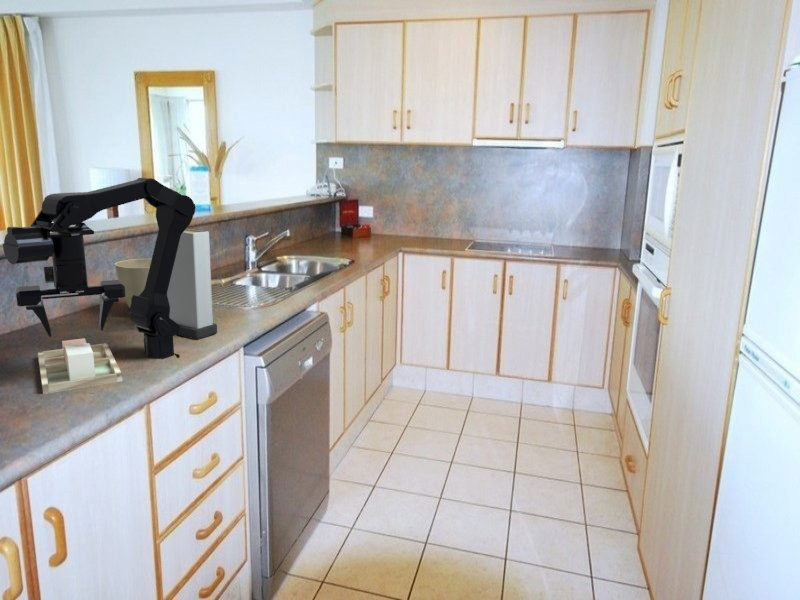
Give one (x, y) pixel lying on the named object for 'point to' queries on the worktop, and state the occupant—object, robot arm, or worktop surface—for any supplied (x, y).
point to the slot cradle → (58, 379)
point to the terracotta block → (71, 342)
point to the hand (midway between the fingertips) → (76, 333)
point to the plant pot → (133, 276)
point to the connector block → (80, 361)
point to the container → (192, 286)
